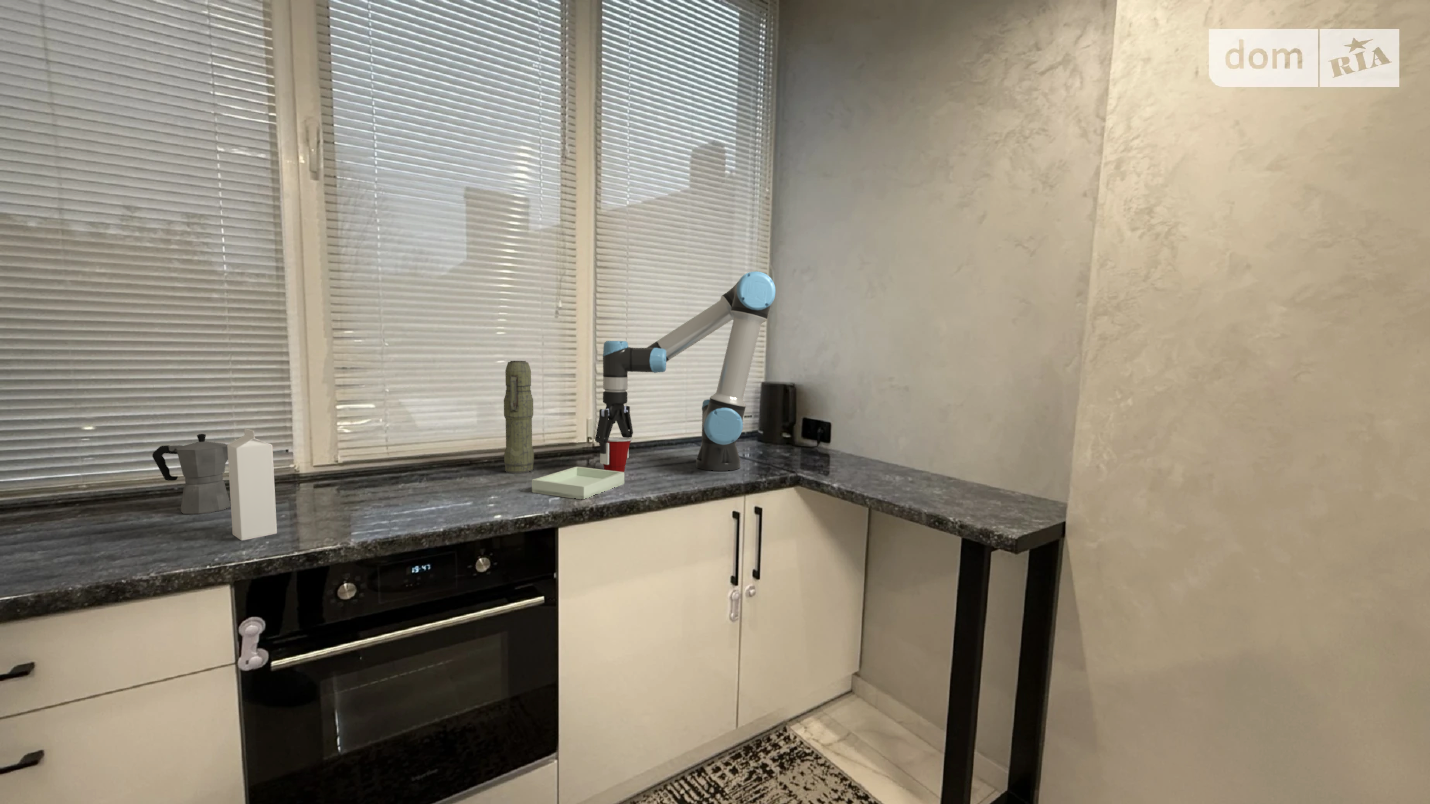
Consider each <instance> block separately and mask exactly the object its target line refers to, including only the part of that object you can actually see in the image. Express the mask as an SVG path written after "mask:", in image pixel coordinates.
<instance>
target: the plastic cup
mask: <svg viewBox="0 0 1430 804" xmlns="http://www.w3.org/2000/svg"><path fill="white" fill-rule="evenodd" d="M604 439H605V438H604ZM632 440H633V437H632V438H626V437H621V436H609V439H608V442H607V443H609V464H608V465H607V464H602V465H603V470H610V471H618V472H624V473H625V469H626V465H627V459H628V458H627V455H628V449H630V445H631V442H632ZM599 446H600V443H599Z"/></svg>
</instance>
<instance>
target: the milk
mask: <svg viewBox="0 0 1430 804" xmlns="http://www.w3.org/2000/svg"><path fill="white" fill-rule="evenodd" d="M243 431H244V434H243V435H241V436H240V437H238V438H237V439H235V440H234V441H232V442H230V443H228V445H227V448H228V460H227V462H228V476H229V477H228V480H229V481H228V482H229V496H230V497H229V500H230V505H231V506H230V513H231V530H232V536H235V537H236V538H237V539H238V540H240V541H243V542H244V541H246V540H251V539H257V538H262V537H265V536H271V535H276V534H277V533H278V529H277V526H278V525H277V511H276V507H277V506H276V491H275V470H274V453H273V452H274V450H273V449H274V448H273V444H271V443H269V442H266V441H264V440H261V439H257V438H256V437H255V430H253V429H250V428H246V427H244V430H243Z"/></svg>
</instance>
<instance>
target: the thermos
mask: <svg viewBox="0 0 1430 804" xmlns="http://www.w3.org/2000/svg"><path fill="white" fill-rule="evenodd" d="M531 370H532V369H531V366H530V363H529V362H528V361H526V360H510V361H508V362H507V364H506V367H505V386H506V389H505V395H504V397H503V417H504V419H505V450H504V454H503V456H504V457H503V461H504V462H503V463H504V466H505V467H504V468H505V469H504V472H505V471H506V472H505V473H507V472H509V473H508V474H514V473H516V474H526V473H525V472H528V473H530V472H529V471H531V470H533V469H534V462H535V453H534V448H533V416H534V397H533V395H532V390H531V386H532V371H531ZM533 471H534V470H533ZM531 472H532V471H531Z"/></svg>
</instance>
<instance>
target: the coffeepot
mask: <svg viewBox="0 0 1430 804" xmlns="http://www.w3.org/2000/svg"><path fill="white" fill-rule="evenodd" d="M206 436H207V434H205V433H199V434H196V437H197V440H198V441H197V442H192V443H188V444H185V445H181V444H179V445H178V444H176V445H175V444H173V445H167V444H166V445H160V446H159V447H157V448H156V449H155V450H154V451H153V452H152V459H153V461H154V462H155V464H156V466H157V468H158V469H159V471H160V473H161V475H162V476H163V478H164V480H165V481H170V482H171V481H177V479H178V478H179V476H178V475H176V476H174V475H171V473H170V468H169V467H168V465H167V463H166V460H165V457H164V456H163V455H165V454H171V455H177V457H178V461H179V465H180V469H181V472H182V475H183V477H184V479H185V481H184V482H185V483H184V485H183V490H182V496H181V497H182V498H181V502H180V511H181V512H182V513H183V515H189V516H190V515H191V516H192V515H203V514H204V515H205V514H211V512H212V513H216V512H215V511H217V512H221V511H225V510H227V509H229V508H231V500H230V497H229V495H228V491H227V487H226V483H225V481H224V473H225V471H226V464H227V462H228V448H227V445H228V444H229V443H228V444H226V443H222V442H215V441H214V442H213V441H206ZM226 508H227V509H226ZM224 509H225V510H224ZM182 513H181V514H182Z"/></svg>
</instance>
